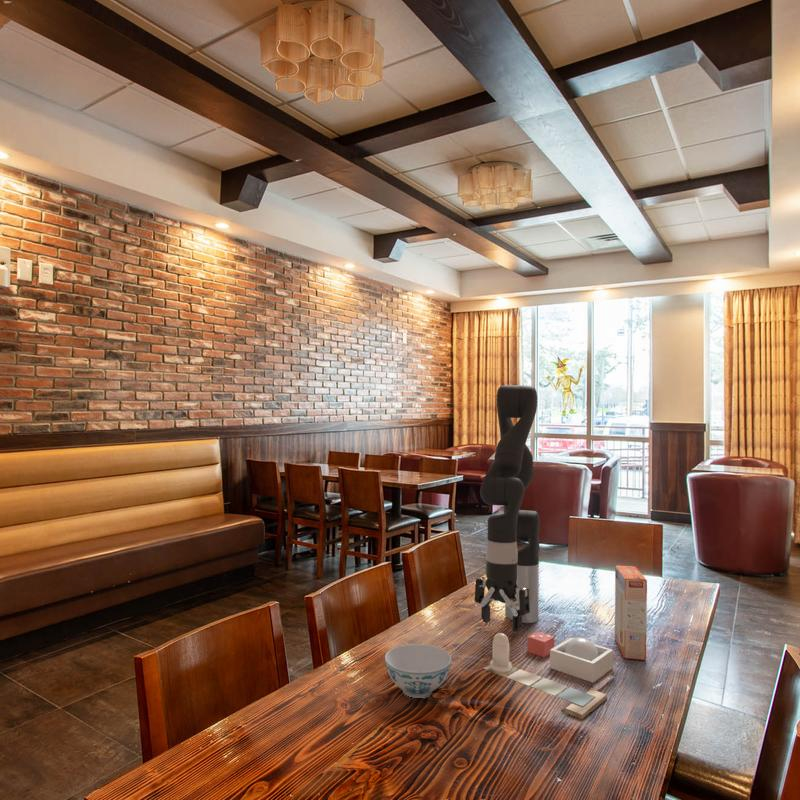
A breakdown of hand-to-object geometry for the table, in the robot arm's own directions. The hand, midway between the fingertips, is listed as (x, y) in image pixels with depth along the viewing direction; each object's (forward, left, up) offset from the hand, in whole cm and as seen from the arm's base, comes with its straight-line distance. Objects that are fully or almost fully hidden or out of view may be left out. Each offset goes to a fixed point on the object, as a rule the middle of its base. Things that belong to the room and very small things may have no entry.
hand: (501, 626), depth 139 cm
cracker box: (+17, +37, -12) cm, 42 cm away
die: (+2, +16, -11) cm, 20 cm away
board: (+10, 0, -11) cm, 15 cm away
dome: (+14, +15, -11) cm, 23 cm away
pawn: (0, 0, -10) cm, 10 cm away
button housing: (+14, +15, -11) cm, 23 cm away
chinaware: (-8, -21, -12) cm, 25 cm away
